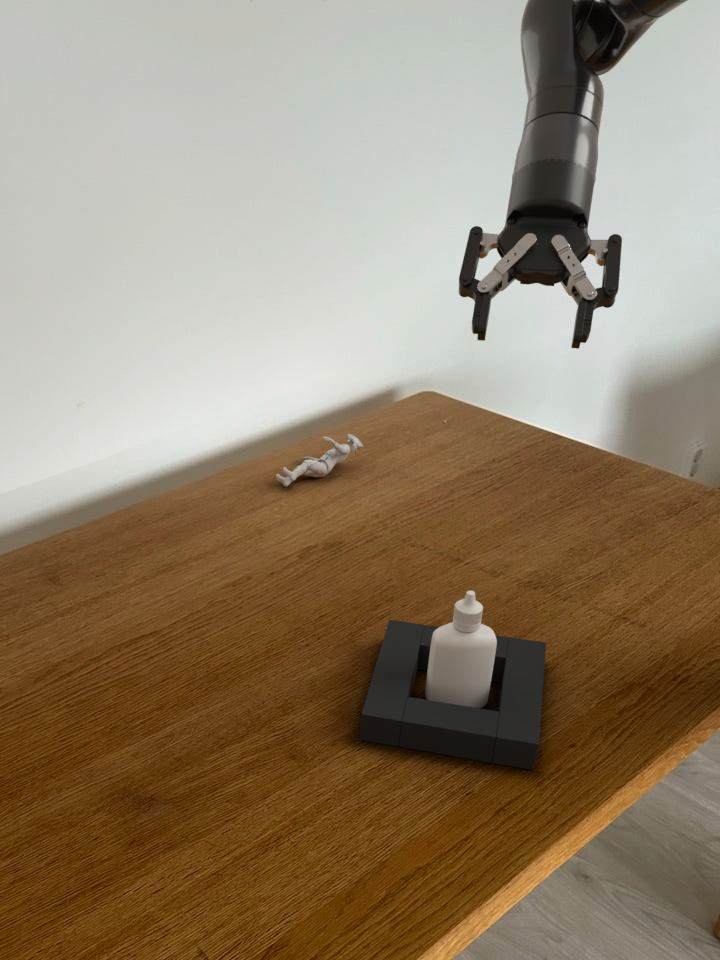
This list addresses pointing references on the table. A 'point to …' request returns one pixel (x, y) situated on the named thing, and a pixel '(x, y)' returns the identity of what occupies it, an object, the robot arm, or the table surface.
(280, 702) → the table surface
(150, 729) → the table surface
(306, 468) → the soldier figure
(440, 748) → the black rectangular frame
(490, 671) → the eye dropper bottle
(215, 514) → the table surface
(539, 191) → the robot arm
